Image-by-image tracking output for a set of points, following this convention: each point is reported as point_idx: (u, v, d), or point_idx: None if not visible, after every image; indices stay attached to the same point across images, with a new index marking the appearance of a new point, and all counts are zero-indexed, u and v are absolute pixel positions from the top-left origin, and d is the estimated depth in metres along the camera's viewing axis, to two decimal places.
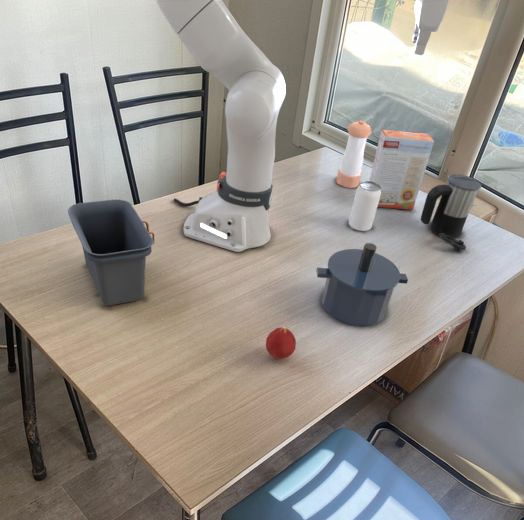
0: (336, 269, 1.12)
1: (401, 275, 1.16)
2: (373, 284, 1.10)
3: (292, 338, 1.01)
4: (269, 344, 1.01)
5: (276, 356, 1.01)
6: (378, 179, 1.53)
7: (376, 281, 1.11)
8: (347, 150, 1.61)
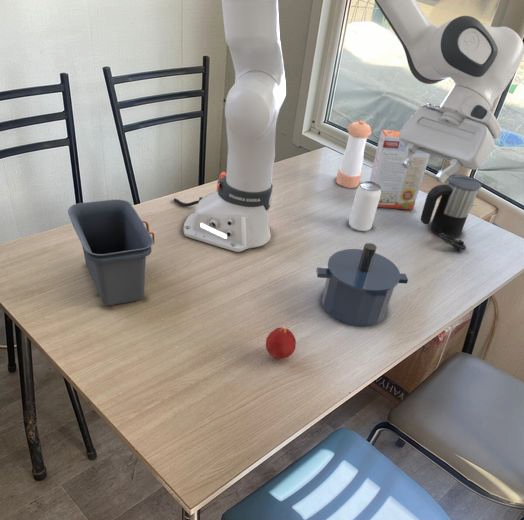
0: (336, 269, 1.12)
1: (401, 275, 1.16)
2: (373, 284, 1.10)
3: (292, 338, 1.01)
4: (269, 344, 1.01)
5: (276, 356, 1.01)
6: (378, 179, 1.53)
7: (376, 281, 1.11)
8: (347, 150, 1.61)
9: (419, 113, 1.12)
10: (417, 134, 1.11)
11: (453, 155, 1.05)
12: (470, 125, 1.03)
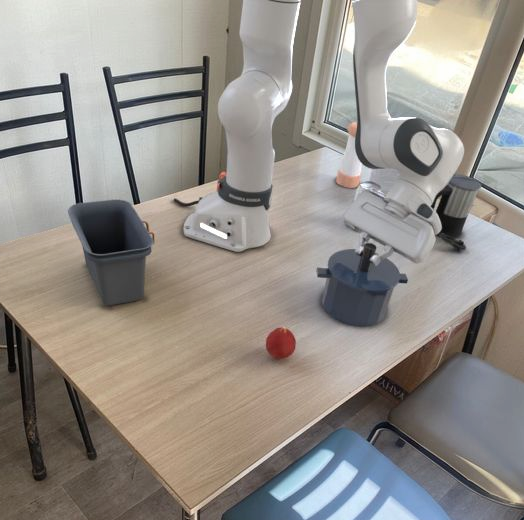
0: (336, 269, 1.12)
1: (401, 275, 1.16)
2: (373, 284, 1.10)
3: (292, 338, 1.01)
4: (269, 344, 1.01)
5: (276, 356, 1.01)
6: (378, 179, 1.53)
7: (376, 281, 1.11)
8: (347, 150, 1.61)
9: (364, 198, 1.13)
10: (362, 219, 1.12)
11: (398, 248, 1.07)
12: (415, 221, 1.06)
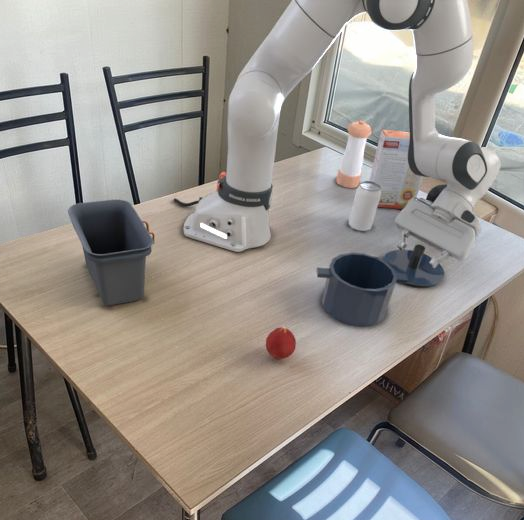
0: None
1: (401, 275, 1.16)
2: (422, 279, 1.30)
3: (292, 338, 1.01)
4: (269, 344, 1.01)
5: (276, 356, 1.01)
6: (378, 179, 1.53)
7: (424, 277, 1.31)
8: (347, 150, 1.61)
9: (413, 205, 1.33)
10: (412, 223, 1.32)
11: (445, 248, 1.27)
12: (460, 225, 1.26)
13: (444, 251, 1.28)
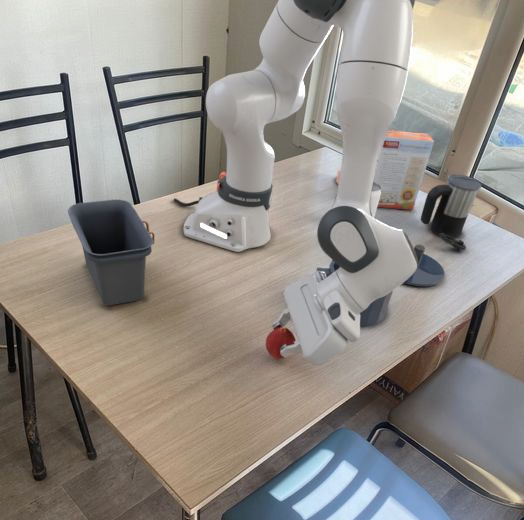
0: None
1: None
2: (422, 279, 1.30)
3: (292, 338, 1.01)
4: (269, 343, 1.01)
5: (276, 356, 1.01)
6: (378, 179, 1.53)
7: (424, 277, 1.31)
8: None
9: (307, 279, 1.03)
10: (293, 299, 1.02)
11: (299, 341, 0.95)
12: (324, 319, 0.93)
13: (297, 340, 0.97)
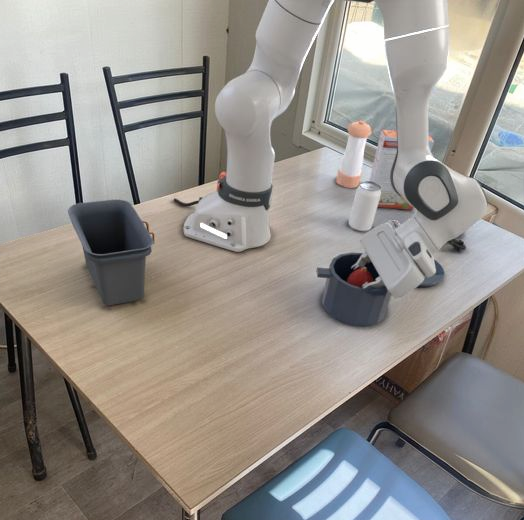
0: None
1: None
2: None
3: (371, 277, 1.15)
4: (351, 282, 1.15)
5: None
6: (378, 179, 1.53)
7: None
8: (347, 150, 1.61)
9: (383, 226, 1.17)
10: (371, 244, 1.16)
11: (381, 277, 1.09)
12: (405, 256, 1.07)
13: (379, 277, 1.11)
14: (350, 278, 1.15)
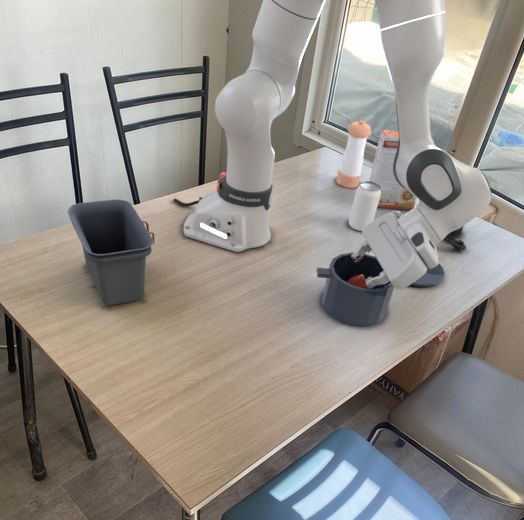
0: None
1: None
2: (422, 279, 1.30)
3: None
4: None
5: None
6: (378, 179, 1.53)
7: (424, 277, 1.31)
8: (347, 150, 1.61)
9: (385, 217, 1.16)
10: (373, 236, 1.15)
11: (383, 268, 1.08)
12: (407, 247, 1.05)
13: (383, 272, 1.08)
14: None
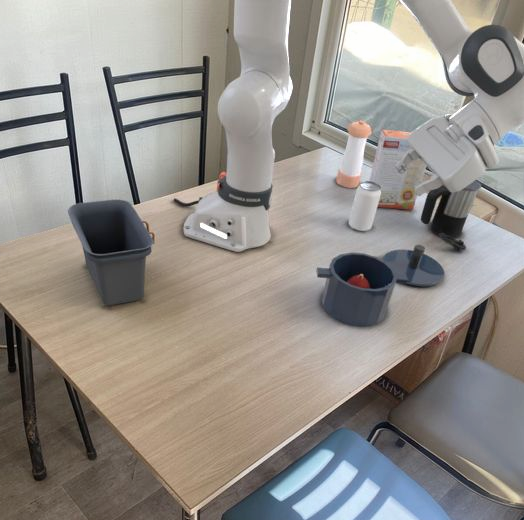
0: None
1: (401, 275, 1.16)
2: (422, 279, 1.30)
3: (368, 284, 1.16)
4: None
5: None
6: (378, 179, 1.53)
7: (424, 277, 1.31)
8: (347, 150, 1.61)
9: (433, 121, 1.04)
10: (420, 140, 1.03)
11: (436, 170, 0.96)
12: (464, 143, 0.94)
13: (434, 175, 0.97)
14: None
